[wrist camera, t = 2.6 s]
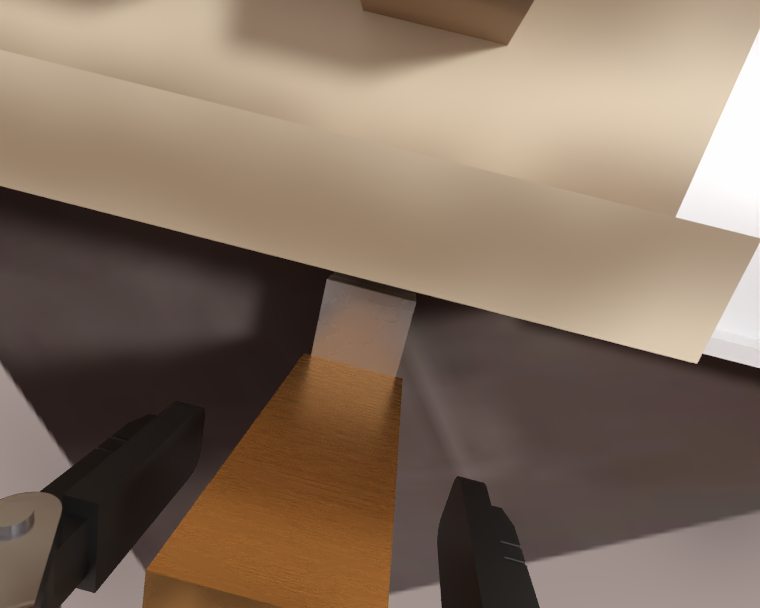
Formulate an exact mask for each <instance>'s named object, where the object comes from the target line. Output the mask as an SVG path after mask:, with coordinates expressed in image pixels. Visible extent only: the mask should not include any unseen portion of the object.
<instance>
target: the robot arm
mask: <svg viewBox="0 0 760 608" xmlns="http://www.w3.org/2000/svg"><path fill="white" fill-rule="evenodd" d="M204 418H205V410H204V409H203V408H201V407H197V406H194V405H190V404H186V403H182V402H178V401H176V402H174V403H172V404H171V405H170V406H169V407H167V408H166V409H165V410H164V411H163V412H161V413H160V414H159V415H158V416H155V415H151V414H149V415H147V416H144V417H142V418H139V419H137V420H135V421H132V422H130V423H128V424H127V425H125V426H124V427H123V428H122V429H120V430H119V431H118V432H116V433H115V434H114V435H113V436H112V438H109V439H107V440H106V441H105V442H103V443H102V444H101V445H100V446H99V447H98V449H94V450H93V451H92V452H90V453H89V454H88V455H87V456H85V457H84V458H83V459H81V460H80V461H79V462H77V463H76V464H75V465H74V466H72V467H71V468H70V469H68V470H67V471H66V472H65V473H63V474H62V475H61V476H59V477H58V478H57V479H55V480H54V481H53V482H52V483H50V484H49V485H48V486H46V487H45V488H44V489H43V490H41V491H40V492H25V493H20V494H15V495H12V496H8V497H5V498H2V499H0V608H61V604H62V603H63V602H64V601H65V600H66V599H67V597H68V596H69V595H70V594H71V593H72V592H73V591H74V589H75V588H79V589H82V590H86V591H90V592H93V593H95V592H96V591H97V590H98V589H99V588H100V586H101V585H102V584H103V583H104V581H105V580H106V579H107V578H108V576H109V575H110V574H111V573H112V572H113V570H114V569H115V568H116V567H117V565H118V564H119V563H120V562H121V561H122V559H123V558H124V557H125V556H126V554H127V553H128V552H129V551H130V550H131V548H132V547H133V546H134V545H135V543H136V542H137V541H138V540H139V539H140V537H141V536H142V535H143V534H144V532H145V531H146V530H147V529H148V527H149V526H150V525H151V524H152V523H153V521H154V520H155V519H156V518H157V516H158V515H159V514H160V513H161V512H162V510H163V509H164V508H165V507H166V505H167V504H168V503H169V502H170V501H171V499H172V498H173V497H174V496H175V494H176V493H177V492H178V491H179V490H180V488H181V487H182V486H183V485H184V483H185V482H186V481H187V480H188V478H189V477H190V476H191V474H192V473H193V471H194V469H195V467H196V465H197V462H198V459H199V456H200V449H201V442H202V434H203V426H204ZM437 546H438V560H439V574H440V588H441V602H442V608H540V607H539V604H538V601H537V598H536V594H535V591H534V588H533V585H532V582H531V578H530V576H529V572H528V569H527V566H526V565H525V559H524V556H523V553H522V550H521V549H520V543H519V540H518V537H517V534H516V530H515V527H514V525H513V524H512V522H511V521H510V520H509V518H508V517H507V515H506V514H505V512H504V511H503V510H502V508H499V507H495V506H491V502H490V499H489V495H488V491H487V487H486V485H485V483H482V482H478V481H475V480H471V479H467V478H463V477H459V476H457V477H456V479H455V480H454V483H453V486H452V489H451V491H450V494H449V497H448V500H447V503H446V505H445V508H444V511H443V514H442V517H441V520H440V524H439V529H438V538H437Z"/></svg>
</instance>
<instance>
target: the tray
mask: <svg viewBox="0 0 760 608" xmlns="http://www.w3.org/2000/svg"><path fill="white" fill-rule="evenodd" d="M676 218H680V219H685V220H689V221H693V222H697V223H701V224H705V225H709V226H713V227H717V228H721V229H725V230H729V231H733V232H737V233H741V234H745V235H749V236H753V237H757V238H760V29H759V32H758V34H757V36H756V38H755V41H754V43H753V45H752V47H751V49H750V52H749V54H748V56H747V58H746V61H745V63H744V65H743V67H742V70H741V72H740V74H739V76H738V79H737V81H736V83H735V85H734V87H733V90H732V92H731V94H730V96H729V99H728V101H727V103H726V105H725V108H724V110H723V112H722V114H721V117H720V119H719V121H718V123H717V125H716V128H715V130H714V132H713V134H712V137H711V139H710V141H709V143H708V146H707V148H706V150H705V152H704V155H703V157H702V159H701V161H700V163H699V166H698V168H697V170H696V172H695V175H694V177H693V179H692V181H691V184H690V186H689V188H688V190H687V193H686V195H685V197H684V199H683V201H682V204H681V206H680V208H679V210H678V213H677V215H676ZM702 354H706V355H710V356H714V357H718V358H722V359H726V360H730V361H734V362H738V363H742V364H745V365H749V366H753V367H757V368H760V243H759V245H758V247H757V249H756V251H755V253H754V255H753V257H752V259H751V261H750V263H749V265H748V266H747V268H746V270H745V272H744V274H743V276H742V278H741V280H740V282H739V284H738V286H737V288H736V290H735V292H734V293H733V295H732V297H731V299H730V301H729V303H728V305H727V307H726V309H725V311H724V313H723V315H722V317H721V319H720V321H719V322H718V324H717V326H716V328H715V330H714V332H713V334H712V336H711V338H710V340H709V342H708V344H707V346H706V348H705V350H704V351H703V353H702Z"/></svg>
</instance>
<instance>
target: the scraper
mask: <svg viewBox="0 0 760 608" xmlns="http://www.w3.org/2000/svg"><path fill="white" fill-rule="evenodd" d="M415 305H416V292H414V291H410V290H406V289H402V288H398V287H394V286H390V285H386V284H382V283H378V282H374V281H371V280H367V279H363V278H359V277H355V276H351V275H347V274H343V273H339V272H334V273H333V274H332V275H331V276H330V277H329V278H327V280H326V285H325V290H324V295H323V300H322V305H321V310H320V314H319V319H318V324H317V329H316V334H315V339H314V343H313V348H312V353H311V355H309V354H305V353H304V354H303V355H302V357H301V358H300V360H299V361H298V362H297V364H296V365H295V366H294V368H293V369H292V371H291V372H290V373H289V375H288V376H287V377H286V379H285V380H284V381H283V383H282V384H281V386H280V387H279V388H278V390H277V391H276V392H275V394H274V395H273V397H272V398H271V399H270V401H269V402H268V403H267V405H266V406H265V408H264V409H263V410H262V412H261V413H260V414H259V416H258V417H257V418H256V420H255V421H254V423H253V424H252V425H251V427H250V428H249V429H248V431H247V432H246V434H245V435H244V436H243V438H242V439H241V440H240V442H239V443H238V445H237V446H236V447H235V449H234V450H233V451H232V453H231V454H230V456H229V457H228V458H227V460H226V461H225V462H224V464H223V465H222V466H221V468H220V469H219V471H218V472H217V473H216V475H215V476H214V477H213V479H212V480H211V482H210V483H209V484H208V486H207V487H206V488H205V490H204V491H203V493H202V494H201V495H200V497H199V498H198V499H197V501H196V502H195V503H194V505H193V506H192V508H191V509H190V510H189V512H188V513H187V514H186V516H185V517H184V519H183V520H182V521H181V523H180V524H179V525H178V527H177V528H176V530H175V531H174V532H173V534H172V535H171V536H170V538H169V539H168V541H167V542H166V543H165V545H164V546H163V547H162V549H161V550H160V551H159V553H158V554H157V556H156V557H155V558H154V560H153V561H152V562H151V564H150V565H149V567H148V568H147V569H146V574H145V585H144V597H143V608H388V599H389V598H388V597H389V583H390V568H391V552H392V536H393V521H394V505H395V489H396V474H397V458H398V442H399V427H400V411H401V396H402V380H403V379H401V378H397V377H396V373H397V370H398V366H399V363H400V359H401V355H402V352H403V348H404V345H405V341H406V338H407V334H408V330H409V327H410V323H411V320H412V316H413V312H414V309H415Z"/></svg>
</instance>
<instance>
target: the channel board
mask: <svg viewBox="0 0 760 608" xmlns="http://www.w3.org/2000/svg"><path fill="white" fill-rule="evenodd" d="M759 29H760V0H534V2H533V4H532V5H531V7H530V9H529V10H528V12H527V14H526V15H525V17H524V19H523V20H522V22H521V24H520V25H519V27H518V29H517V30H516V32H515V34H514V35H513V37H512V39H511V40H510V42H509V44H508V45H504V44H500V43H496V42H491V41H487V40H483V39H479V38H475V37H471V36H467V35H462V34H458V33H454V32H450V31H446V30H442V29H438V28H433V27H429V26H425V25H421V24H417V23H413V22H409V21H404V20H400V19H396V18H392V17H388V16H384V15H380V14H375V13H371V12H367V11H363V9H362V5H361V1H360V0H0V186H3V187H7V188H11V189H14V190H18V191H22V192H26V193H30V194H34V195H38V196H42V197H46V198H50V199H54V200H57V201H61V202H65V203H69V204H73V205H77V206H81V207H85V208H89V209H93V210H97V211H101V212H104V213H108V214H112V215H116V216H120V217H124V218H128V219H132V220H136V221H140V222H144V223H148V224H151V225H155V226H159V227H163V228H167V229H171V230H175V231H179V232H183V233H187V234H191V235H194V236H198V237H202V238H206V239H210V240H214V241H218V242H222V243H226V244H230V245H234V246H238V247H241V248H245V249H249V250H253V251H257V252H261V253H265V254H269V255H273V256H277V257H281V258H284V259H288V260H292V261H296V262H300V263H304V264H308V265H312V266H316V267H320V268H324V269H328V270H331V271H335V272H339V273H343V274H347V275H351V276H355V277H359V278H363V279H367V280H371V281H374V282H378V283H382V284H386V285H390V286H394V287H398V288H402V289H406V290H410V291H414V292H418V293H421V294H425V295H429V296H433V297H437V298H441V299H445V300H449V301H453V302H457V303H461V304H465V305H468V306H472V307H476V308H480V309H484V310H488V311H492V312H496V313H500V314H504V315H508V316H511V317H515V318H519V319H523V320H527V321H531V322H535V323H539V324H543V325H547V326H551V327H555V328H558V329H562V330H566V331H570V332H574V333H578V334H582V335H586V336H590V337H594V338H598V339H601V340H605V341H609V342H613V343H617V344H621V345H625V346H629V347H633V348H637V349H641V350H645V351H648V352H652V353H656V354H660V355H664V356H668V357H672V358H676V359H680V360H684V361H688V362H692V363H695V364H697V363H698V361H699V359H700V357H701V355H702V353H703V351H704V350H705V348H706V346H707V344H708V342H709V340H710V338H711V336H712V334H713V332H714V330H715V328H716V326H717V324H718V322H719V321H720V319H721V317H722V315H723V313H724V311H725V309H726V307H727V305H728V303H729V301H730V299H731V297H732V295H733V293H734V292H735V290H736V288H737V286H738V284H739V282H740V280H741V278H742V276H743V274H744V272H745V270H746V268H747V266H748V265H749V263H750V261H751V259H752V257H753V255H754V253H755V251H756V249H757V247H758V245H759V243H760V238H757V237H753V236H749V235H745V234H741V233H737V232H733V231H729V230H725V229H721V228H717V227H713V226H709V225H705V224H701V223H697V222H693V221H689V220H685V219H680V218H676V215H677V213H678V210H679V208H680V206H681V204H682V201H683V199H684V197H685V195H686V193H687V190H688V188H689V186H690V184H691V181H692V179H693V177H694V175H695V172H696V170H697V168H698V166H699V163H700V161H701V159H702V157H703V155H704V152H705V150H706V148H707V146H708V143H709V141H710V139H711V137H712V134H713V132H714V130H715V128H716V125H717V123H718V121H719V119H720V117H721V114H722V112H723V110H724V108H725V105H726V103H727V101H728V99H729V96H730V94H731V92H732V90H733V87H734V85H735V83H736V81H737V79H738V76H739V74H740V72H741V70H742V67H743V65H744V63H745V61H746V58H747V56H748V54H749V52H750V49H751V47H752V45H753V43H754V41H755V38H756V36H757V34H758V32H759Z"/></svg>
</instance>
